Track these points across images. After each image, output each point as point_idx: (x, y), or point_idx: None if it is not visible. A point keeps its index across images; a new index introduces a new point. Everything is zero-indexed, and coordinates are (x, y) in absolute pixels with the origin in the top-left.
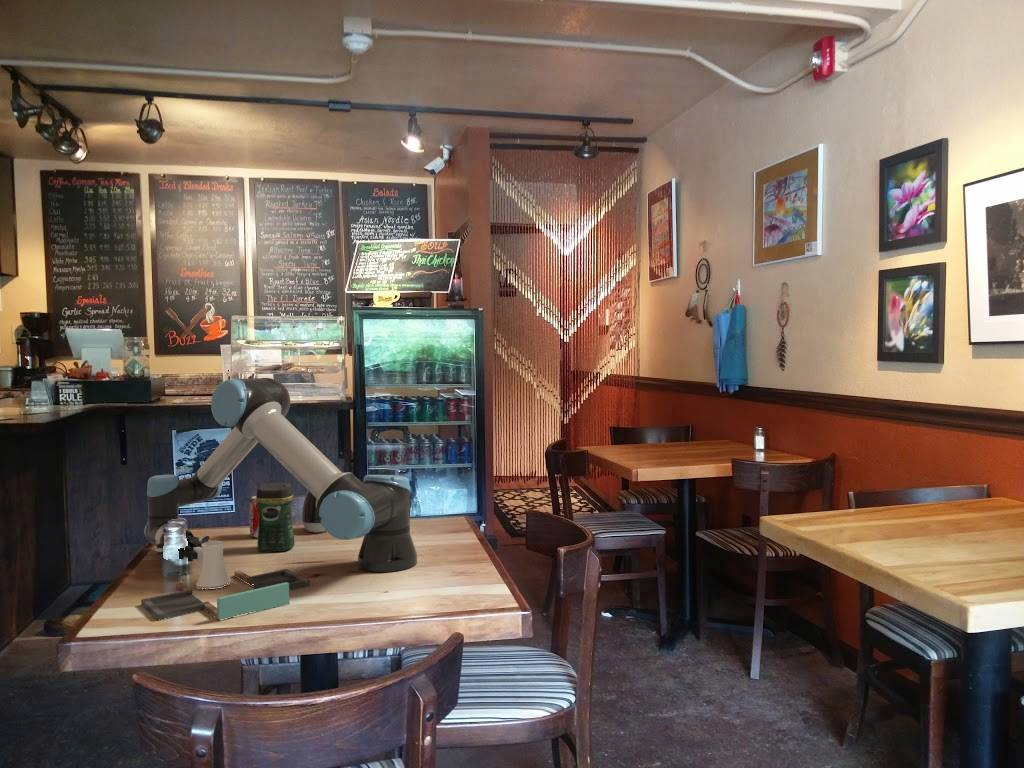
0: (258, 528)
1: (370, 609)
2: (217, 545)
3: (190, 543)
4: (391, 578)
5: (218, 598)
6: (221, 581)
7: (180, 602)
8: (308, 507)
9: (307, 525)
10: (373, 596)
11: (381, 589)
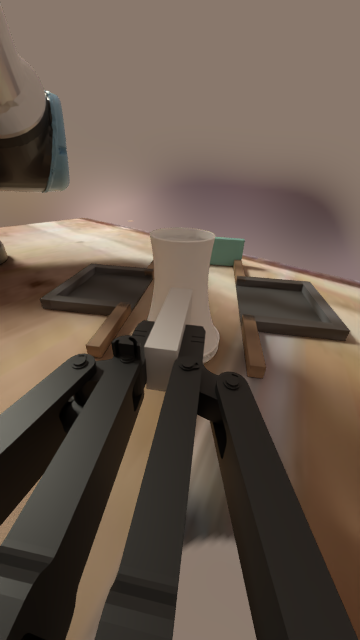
0: None
1: (128, 236)
2: (183, 228)
3: (61, 553)
4: (32, 249)
5: (243, 239)
6: None
7: (269, 309)
8: None
9: None
10: (98, 242)
11: (75, 244)
